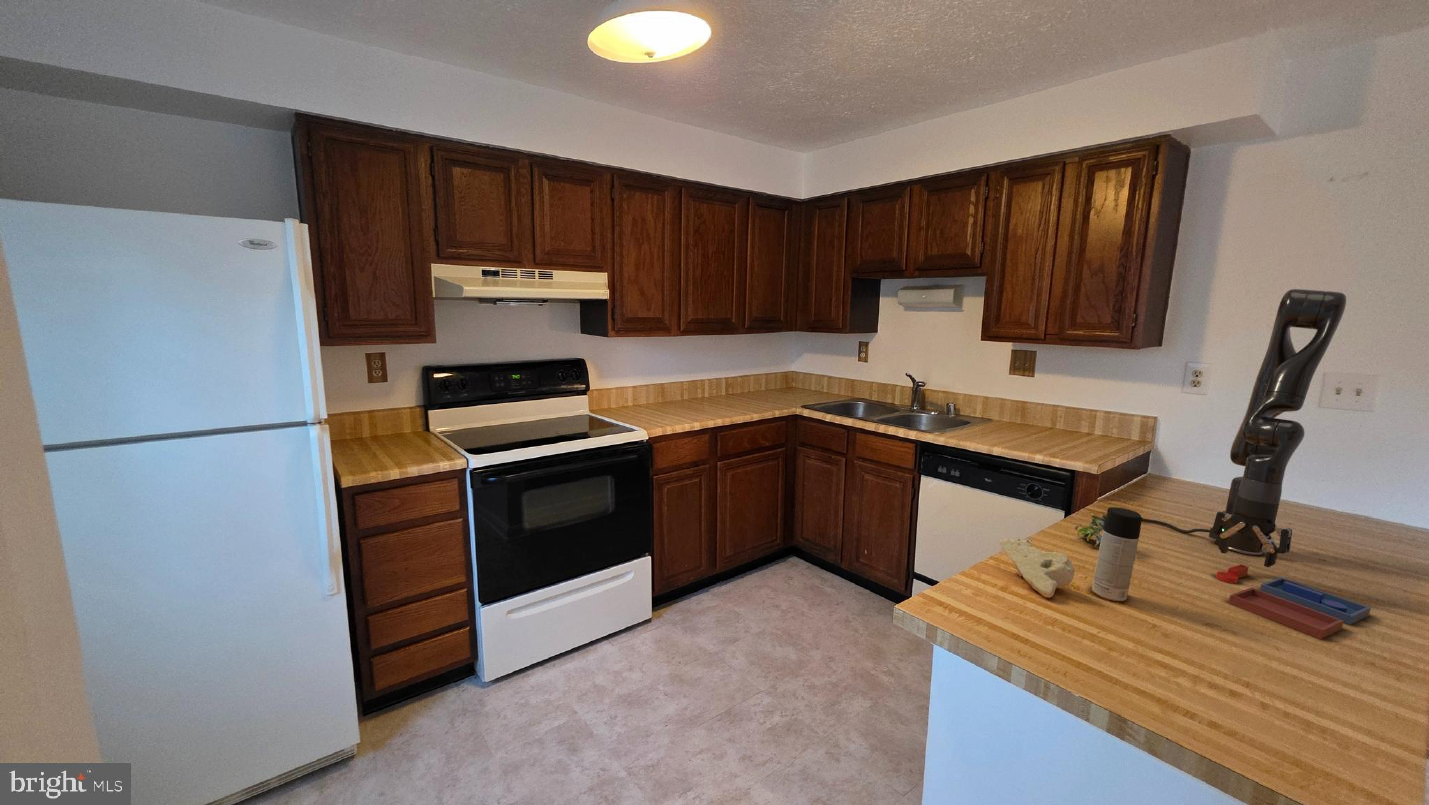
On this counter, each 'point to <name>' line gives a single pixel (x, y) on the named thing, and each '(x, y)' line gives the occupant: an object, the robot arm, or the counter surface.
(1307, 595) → the blue spoon
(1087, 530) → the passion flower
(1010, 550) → the bone fragment
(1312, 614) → the red tray
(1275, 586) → the blue tray
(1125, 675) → the counter surface
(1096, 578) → the spray can
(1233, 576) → the red spoon
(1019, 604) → the counter surface
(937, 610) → the counter surface
